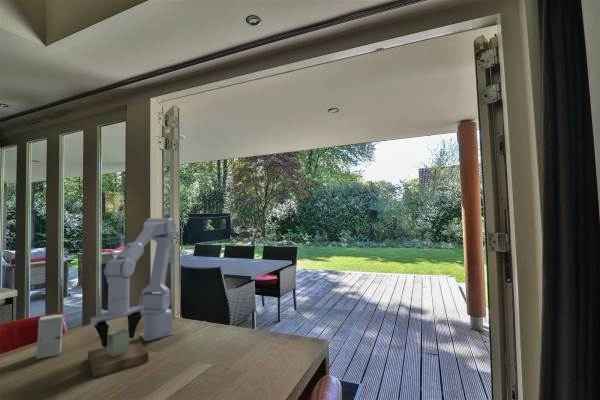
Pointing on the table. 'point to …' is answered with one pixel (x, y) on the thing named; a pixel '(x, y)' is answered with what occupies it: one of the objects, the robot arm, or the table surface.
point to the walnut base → (116, 359)
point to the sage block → (117, 342)
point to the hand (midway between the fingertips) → (118, 341)
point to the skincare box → (49, 336)
